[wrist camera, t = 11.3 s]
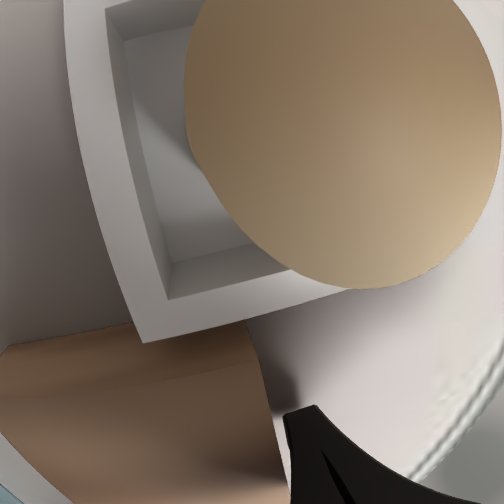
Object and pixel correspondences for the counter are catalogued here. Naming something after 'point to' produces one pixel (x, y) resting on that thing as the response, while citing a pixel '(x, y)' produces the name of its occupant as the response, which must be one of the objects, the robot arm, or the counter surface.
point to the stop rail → (7, 497)
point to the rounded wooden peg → (344, 131)
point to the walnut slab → (144, 417)
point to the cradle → (161, 176)
